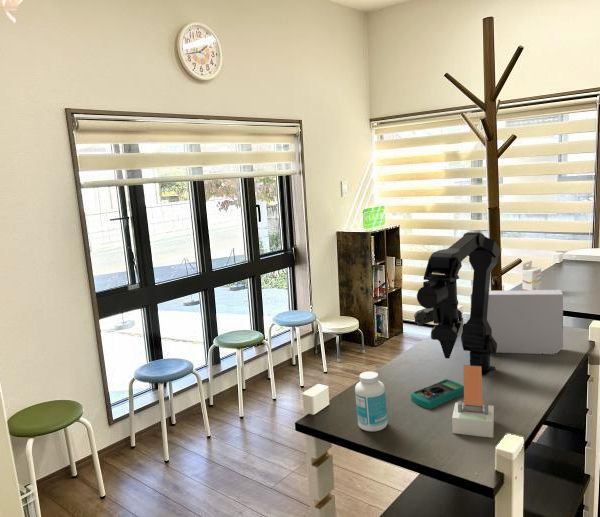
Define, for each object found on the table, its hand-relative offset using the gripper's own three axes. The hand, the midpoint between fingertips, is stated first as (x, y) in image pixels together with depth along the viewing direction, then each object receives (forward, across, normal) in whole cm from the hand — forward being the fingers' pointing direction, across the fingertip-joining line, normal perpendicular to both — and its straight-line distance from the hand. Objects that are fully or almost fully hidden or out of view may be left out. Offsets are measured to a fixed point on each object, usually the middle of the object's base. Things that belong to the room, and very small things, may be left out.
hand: (448, 353), depth 137 cm
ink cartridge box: (+13, -110, +25) cm, 114 cm away
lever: (+7, +16, +7) cm, 19 cm away
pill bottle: (+12, +21, -17) cm, 29 cm away
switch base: (+12, +16, +7) cm, 21 cm away
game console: (+12, -37, +17) cm, 43 cm away
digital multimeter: (+13, +2, -3) cm, 13 cm away
